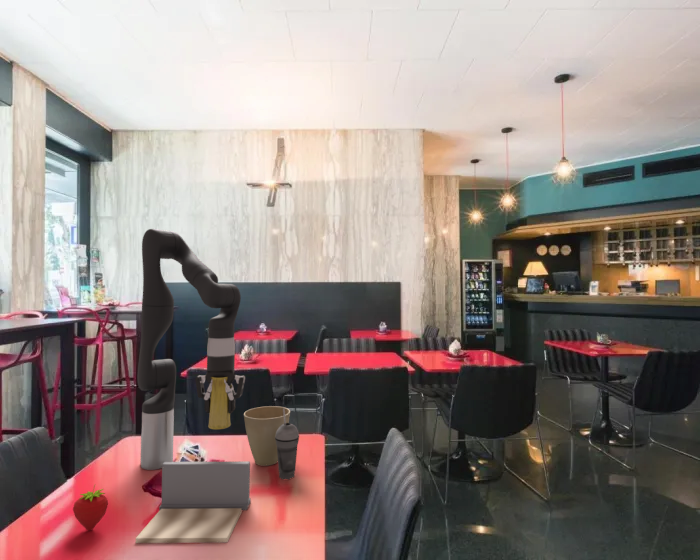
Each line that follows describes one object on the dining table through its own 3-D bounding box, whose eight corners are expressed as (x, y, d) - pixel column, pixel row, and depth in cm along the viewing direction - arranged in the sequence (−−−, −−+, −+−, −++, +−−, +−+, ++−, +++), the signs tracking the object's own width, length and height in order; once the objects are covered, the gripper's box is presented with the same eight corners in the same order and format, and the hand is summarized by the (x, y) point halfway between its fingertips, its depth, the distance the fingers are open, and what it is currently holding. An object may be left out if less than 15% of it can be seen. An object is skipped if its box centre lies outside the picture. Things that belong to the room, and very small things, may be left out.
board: (135, 543, 87) (135, 538, 87) (160, 512, 99) (161, 508, 99) (227, 542, 87) (227, 537, 87) (241, 512, 99) (241, 508, 99)
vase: (235, 424, 114) (236, 374, 115) (220, 431, 109) (221, 379, 109) (219, 421, 117) (220, 372, 117) (203, 427, 111) (204, 376, 112)
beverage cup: (294, 482, 114) (294, 413, 115) (270, 480, 116) (271, 411, 117) (302, 472, 122) (302, 406, 122) (279, 469, 123) (280, 404, 124)
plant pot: (299, 458, 132) (299, 410, 132) (267, 475, 119) (267, 421, 120) (266, 448, 140) (266, 403, 140) (233, 464, 127) (233, 413, 128)
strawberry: (86, 521, 95) (87, 478, 95) (114, 523, 94) (115, 480, 94) (64, 535, 89) (66, 490, 90) (94, 538, 88) (95, 493, 88)
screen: (159, 510, 100) (160, 466, 100) (166, 502, 104) (167, 459, 104) (246, 510, 100) (247, 465, 100) (250, 502, 104) (250, 459, 104)
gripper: (190, 355, 110) (189, 416, 109) (242, 355, 110) (241, 416, 109) (200, 351, 117) (199, 408, 117) (249, 351, 117) (248, 408, 117)
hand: (219, 412), depth 113 cm, fingers closed on vase, 5 cm apart
